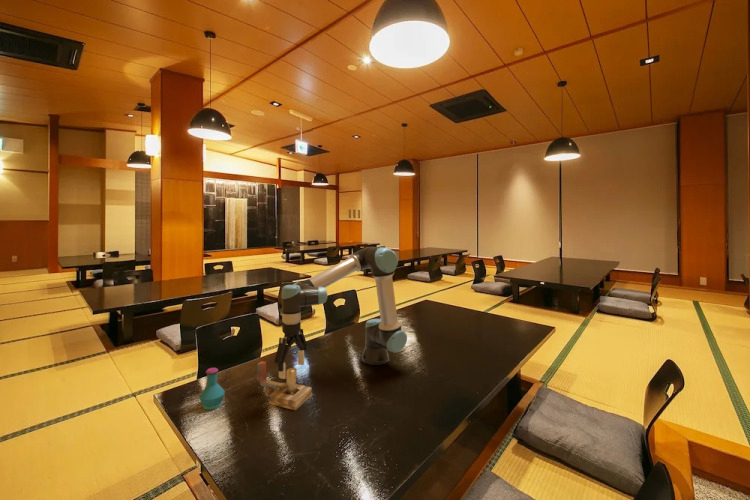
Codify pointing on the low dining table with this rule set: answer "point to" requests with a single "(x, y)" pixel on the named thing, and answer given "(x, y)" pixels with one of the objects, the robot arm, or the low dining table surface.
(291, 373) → the tan rounded cylinder
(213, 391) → the perfume bottle
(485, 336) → the low dining table surface
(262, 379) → the pin
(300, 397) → the dock
